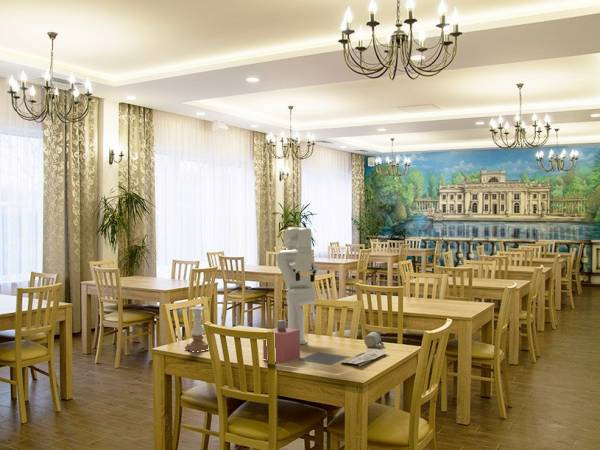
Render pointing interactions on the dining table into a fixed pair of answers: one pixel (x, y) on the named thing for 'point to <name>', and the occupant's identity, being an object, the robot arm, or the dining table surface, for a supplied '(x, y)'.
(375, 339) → the ceramic mug
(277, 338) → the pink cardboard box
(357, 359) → the newspaper
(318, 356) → the mat
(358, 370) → the dining table surface
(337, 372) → the dining table surface
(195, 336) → the candle holder
